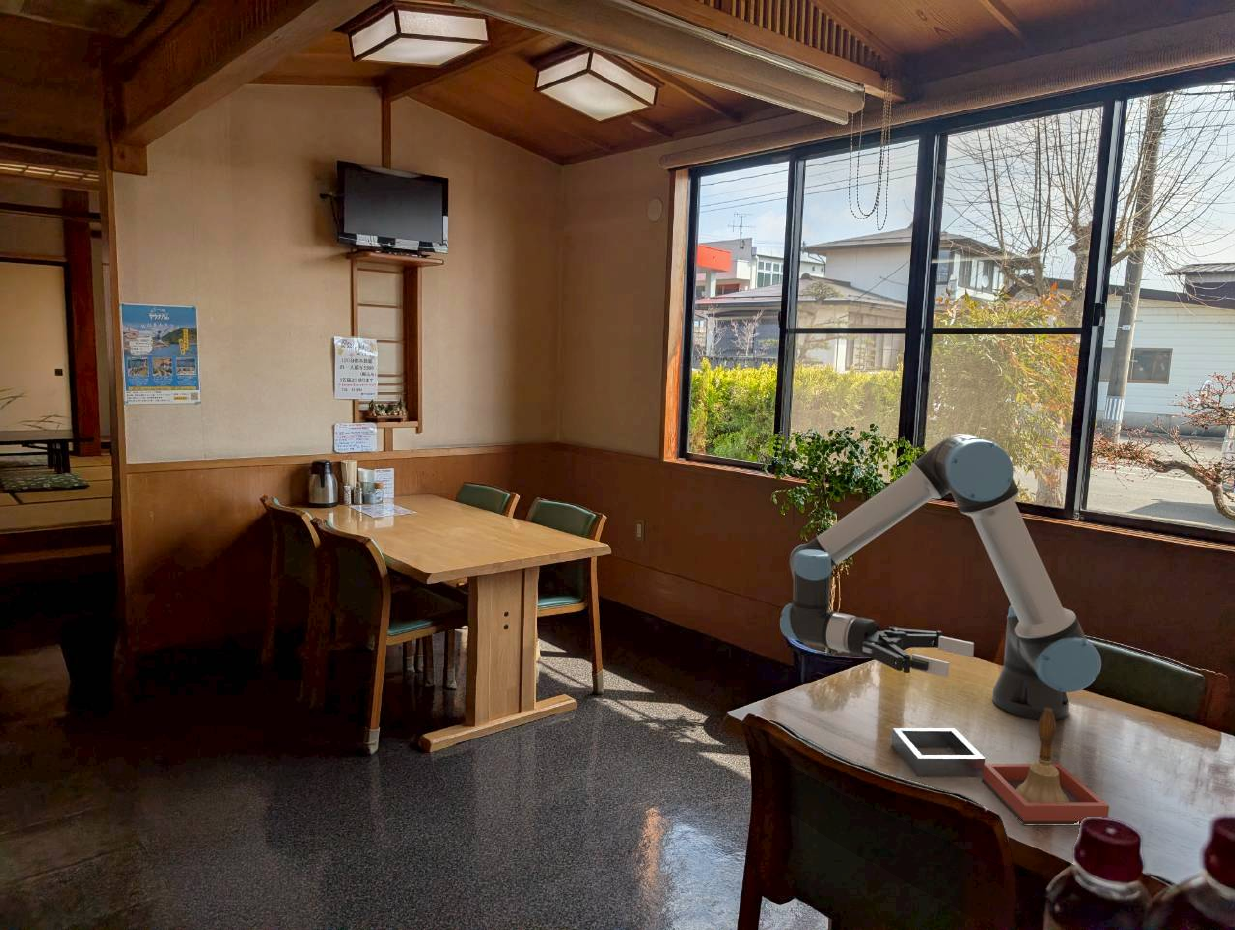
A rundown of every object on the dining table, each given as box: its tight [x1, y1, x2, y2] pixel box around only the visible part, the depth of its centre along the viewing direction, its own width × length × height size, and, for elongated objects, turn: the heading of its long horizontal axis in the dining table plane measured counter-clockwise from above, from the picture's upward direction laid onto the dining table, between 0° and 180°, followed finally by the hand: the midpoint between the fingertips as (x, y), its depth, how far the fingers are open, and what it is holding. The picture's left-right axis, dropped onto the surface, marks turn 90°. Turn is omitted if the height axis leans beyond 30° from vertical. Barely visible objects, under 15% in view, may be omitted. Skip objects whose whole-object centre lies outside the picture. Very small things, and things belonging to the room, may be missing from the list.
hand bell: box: [1016, 708, 1069, 803], centre depth 140 cm, size 8×8×16 cm
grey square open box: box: [891, 727, 986, 778], centre depth 156 cm, size 12×12×4 cm
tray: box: [981, 763, 1110, 825], centre depth 141 cm, size 14×14×3 cm
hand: (961, 659), depth 154 cm, fingers open, 13 cm apart
